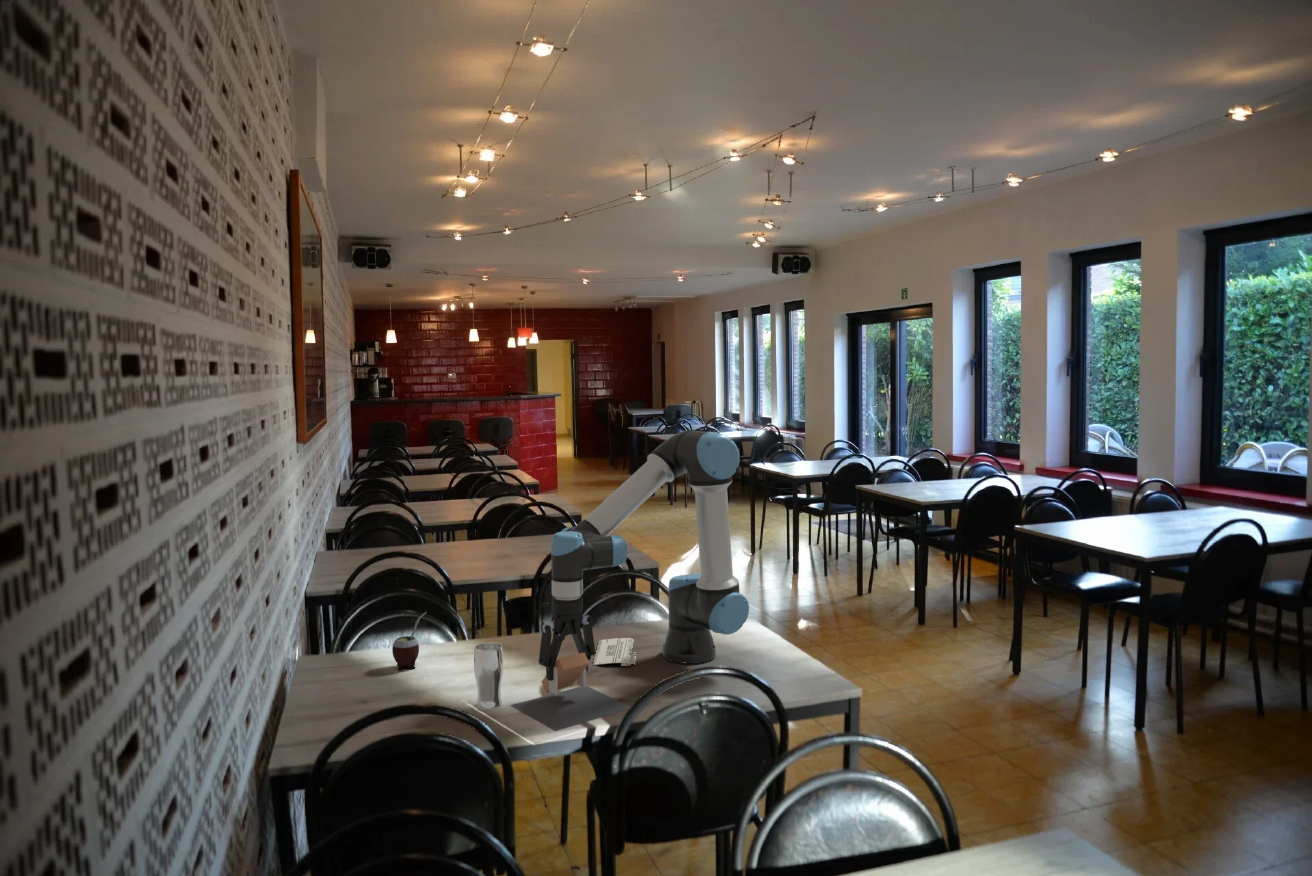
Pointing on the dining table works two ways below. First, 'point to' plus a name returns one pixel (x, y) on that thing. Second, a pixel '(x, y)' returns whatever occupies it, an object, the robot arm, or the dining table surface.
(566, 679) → the card deck box
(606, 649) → the newspaper
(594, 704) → the rubber mat
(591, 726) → the dining table surface
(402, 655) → the mate gourd
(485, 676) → the beer glass
